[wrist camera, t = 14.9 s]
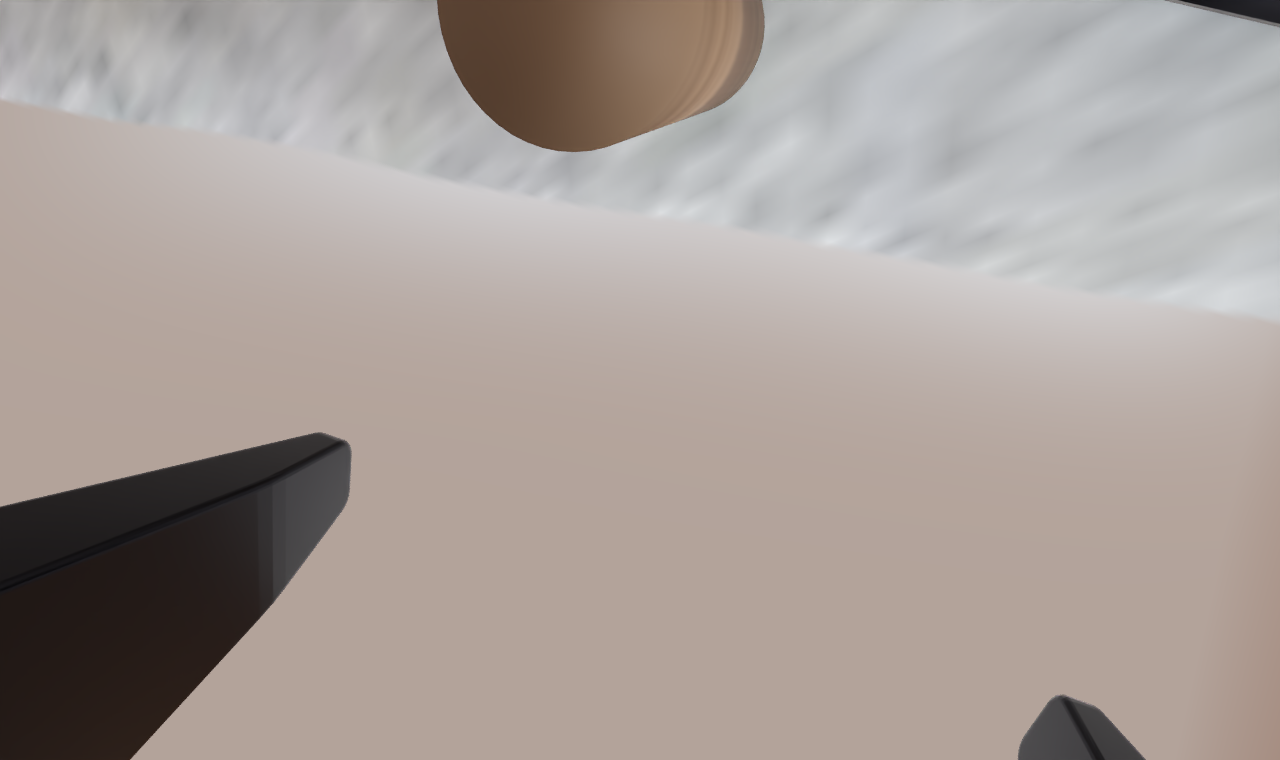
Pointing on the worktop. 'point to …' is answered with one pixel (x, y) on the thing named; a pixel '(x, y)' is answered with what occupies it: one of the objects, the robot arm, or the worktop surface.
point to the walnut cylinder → (599, 63)
